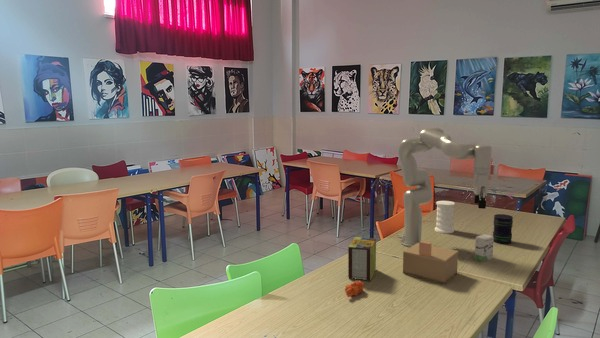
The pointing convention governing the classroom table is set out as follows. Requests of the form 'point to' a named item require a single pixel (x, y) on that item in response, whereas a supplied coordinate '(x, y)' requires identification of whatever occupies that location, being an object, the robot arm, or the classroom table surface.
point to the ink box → (484, 247)
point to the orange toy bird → (354, 288)
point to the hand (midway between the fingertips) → (479, 205)
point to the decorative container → (444, 217)
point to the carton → (430, 268)
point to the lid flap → (430, 251)
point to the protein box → (362, 258)
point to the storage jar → (502, 229)
